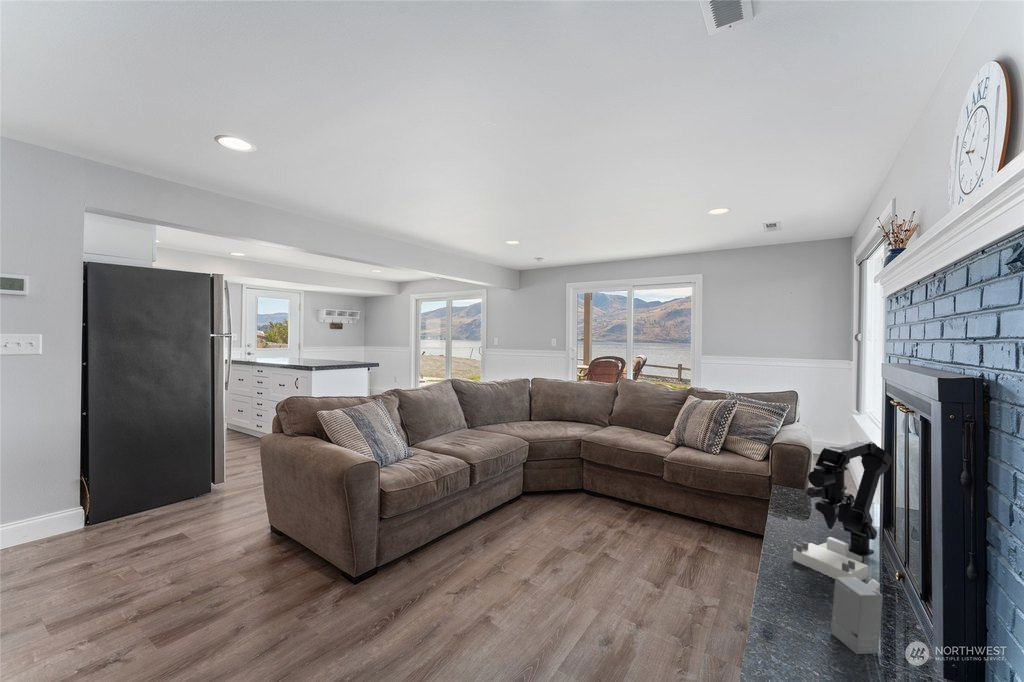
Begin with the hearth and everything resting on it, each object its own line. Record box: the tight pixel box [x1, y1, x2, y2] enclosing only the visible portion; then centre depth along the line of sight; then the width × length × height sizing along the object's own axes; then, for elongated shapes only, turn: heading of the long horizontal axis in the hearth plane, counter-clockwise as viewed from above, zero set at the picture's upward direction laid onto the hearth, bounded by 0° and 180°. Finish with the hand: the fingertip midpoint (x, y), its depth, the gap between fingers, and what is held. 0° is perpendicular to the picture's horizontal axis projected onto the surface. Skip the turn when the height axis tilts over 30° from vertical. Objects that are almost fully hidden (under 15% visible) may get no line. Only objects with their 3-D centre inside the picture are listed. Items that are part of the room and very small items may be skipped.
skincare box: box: [830, 577, 884, 655], centre depth 114 cm, size 8×7×16 cm
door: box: [818, 536, 863, 563], centre depth 160 cm, size 9×16×6 cm, turn 26°
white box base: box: [792, 541, 869, 581], centre depth 151 cm, size 11×18×6 cm, turn 27°
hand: (835, 525), depth 158 cm, fingers open, 9 cm apart
